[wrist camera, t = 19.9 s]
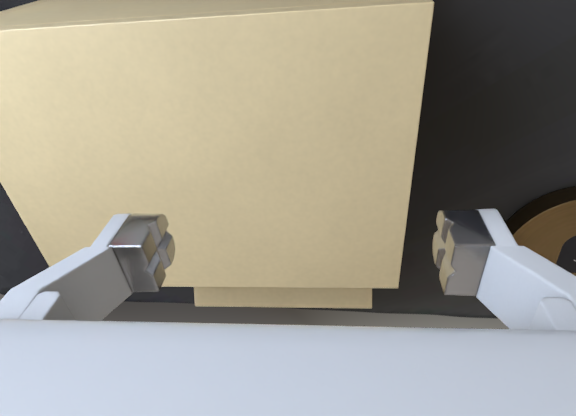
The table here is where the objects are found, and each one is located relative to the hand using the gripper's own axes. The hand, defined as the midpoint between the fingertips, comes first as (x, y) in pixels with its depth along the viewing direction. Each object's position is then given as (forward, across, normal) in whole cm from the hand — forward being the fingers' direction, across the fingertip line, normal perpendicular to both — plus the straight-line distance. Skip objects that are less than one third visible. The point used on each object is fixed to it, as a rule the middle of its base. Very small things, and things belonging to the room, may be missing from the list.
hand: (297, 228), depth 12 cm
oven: (+32, +8, +6) cm, 34 cm away
